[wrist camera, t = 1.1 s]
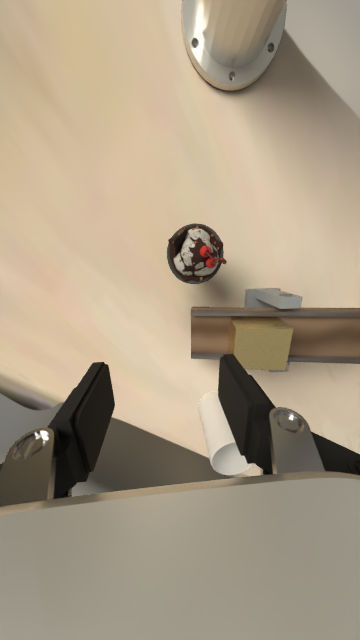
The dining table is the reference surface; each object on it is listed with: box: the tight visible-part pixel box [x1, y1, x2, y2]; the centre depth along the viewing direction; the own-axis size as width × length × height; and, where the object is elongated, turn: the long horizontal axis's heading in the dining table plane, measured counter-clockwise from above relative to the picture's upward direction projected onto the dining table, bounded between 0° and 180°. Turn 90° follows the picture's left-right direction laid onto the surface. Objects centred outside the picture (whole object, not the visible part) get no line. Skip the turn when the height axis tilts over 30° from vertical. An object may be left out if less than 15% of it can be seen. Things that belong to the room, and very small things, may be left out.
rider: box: [227, 316, 293, 370], centre depth 27 cm, size 6×7×5 cm
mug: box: [198, 391, 254, 475], centre depth 36 cm, size 8×12×12 cm
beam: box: [191, 307, 360, 364], centre depth 30 cm, size 8×28×6 cm, turn 91°
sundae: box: [167, 224, 226, 284], centre depth 24 cm, size 7×7×15 cm
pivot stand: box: [244, 288, 302, 372], centre depth 32 cm, size 12×6×8 cm, turn 1°
